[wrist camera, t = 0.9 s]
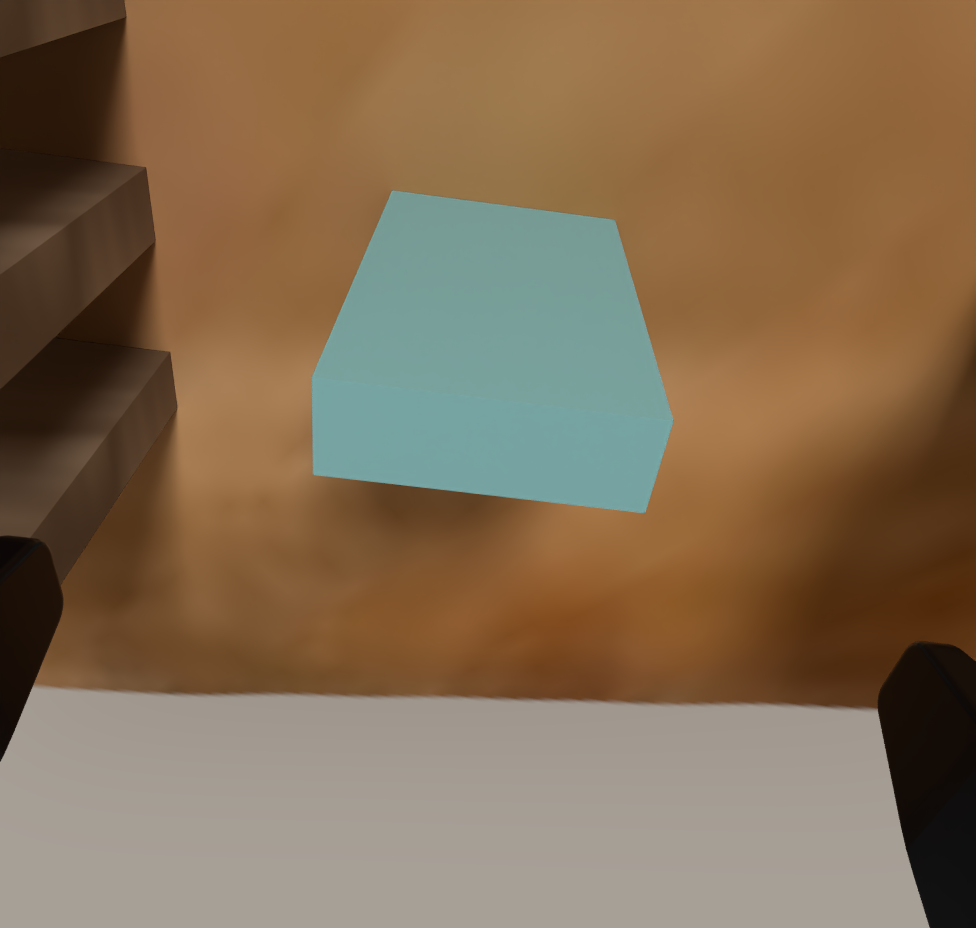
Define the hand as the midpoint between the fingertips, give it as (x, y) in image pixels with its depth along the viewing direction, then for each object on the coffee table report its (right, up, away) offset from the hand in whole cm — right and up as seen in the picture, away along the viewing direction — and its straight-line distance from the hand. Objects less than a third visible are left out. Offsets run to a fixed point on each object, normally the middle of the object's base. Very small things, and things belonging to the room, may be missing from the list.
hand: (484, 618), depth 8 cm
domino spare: (0, +7, +9) cm, 11 cm away
